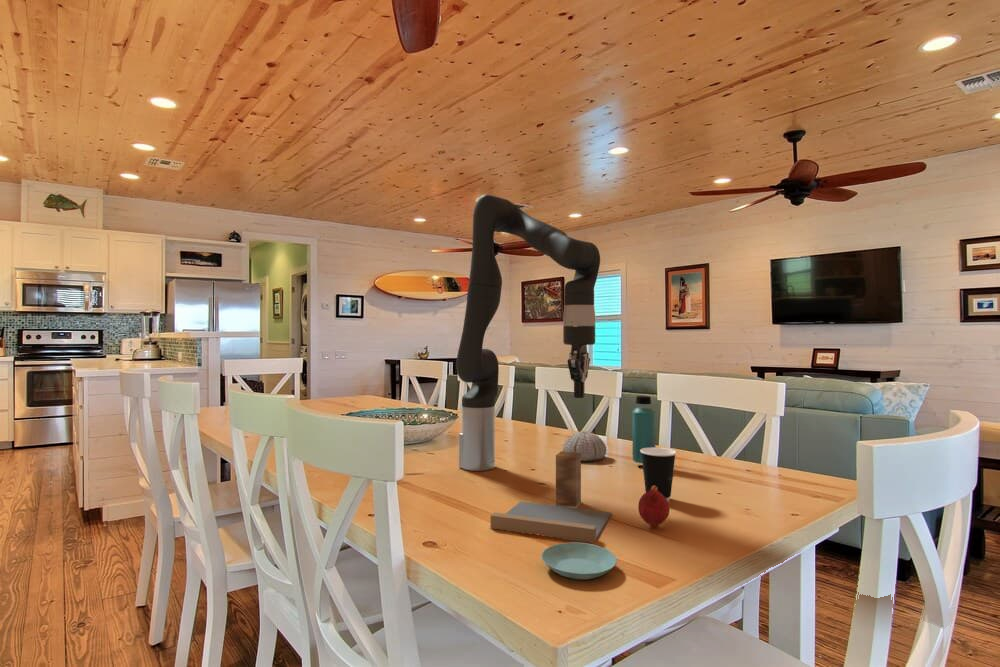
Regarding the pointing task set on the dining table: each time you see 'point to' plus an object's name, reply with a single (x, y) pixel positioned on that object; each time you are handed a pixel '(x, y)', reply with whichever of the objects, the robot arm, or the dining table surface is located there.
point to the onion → (653, 507)
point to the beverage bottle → (643, 428)
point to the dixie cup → (658, 469)
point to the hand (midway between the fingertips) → (579, 397)
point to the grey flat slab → (552, 521)
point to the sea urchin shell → (585, 446)
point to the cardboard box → (568, 479)
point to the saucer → (579, 560)
